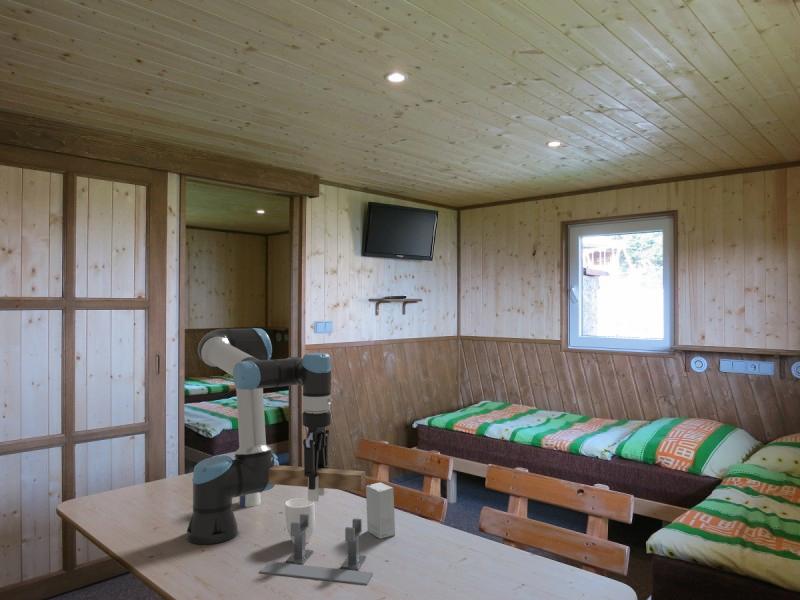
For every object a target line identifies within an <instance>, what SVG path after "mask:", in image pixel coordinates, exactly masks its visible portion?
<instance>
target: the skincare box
mask: <svg viewBox="0 0 800 600" xmlns="http://www.w3.org/2000/svg"><path fill="white" fill-rule="evenodd" d="M394 493H395V492H394V487H392V486H390V485H387V484H385V483H383V482H375V483H372V484H368V485H365V494H366V495H365V498H366V500H365V501H366V518H367V519H366V520H367V521H366V522H367V523H366V528H367V530H366V531H367V532H368V533H370V534H371V535H373V536H374V537H377V538H378V539H381V540H382V539H384V538H389V537H390V538H391V537H394V536H395V535H396V521H395V500H394V499H395V498H394Z"/></svg>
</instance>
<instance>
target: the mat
mask: <svg viewBox="0 0 800 600" xmlns="http://www.w3.org/2000/svg"><path fill="white" fill-rule="evenodd" d="M259 573H260V574H268V575H278V576H284V577H285V576H286V577H287V576H288V577H295V578H304V579H312V580H321V581H329V582H339V583H348V584H356V585H365V586H367V585H368V583H369V582H370V580H371V579H372V577H373V575H374V572H371V571H362V570H361V571H360V570H358V571H356V570H347V569H340V568H334V567H333V568H332V567H325V566H323V567H322V566H316V565H315V566H314V565H304V564H303V565H301V564H291V563H286V562H278V561H270V560H269V561H268V562H267V563H266V564H265V565H264V566H263V567H262V568H261V569H260V570H259Z"/></svg>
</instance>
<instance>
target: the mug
mask: <svg viewBox="0 0 800 600" xmlns="http://www.w3.org/2000/svg"><path fill="white" fill-rule="evenodd" d="M284 504H285V505H284V507H285V509H284V510H285V525H286V530H287V533H288V534H289V536H290V537H289V538H290V540H291V541H292V544H294V536H291V523H292V522H296V523H300V515H301V514H308V515H309V527H308V528H307V529H306V535H305V545H307V544H308V543H309V542H310V540H311V538H312V536H313V532H314V530H315V526H316V521H317V516H318V509H317V508H318V507H317V505H316V504H315V501H308V497H295V498H291V499H288V500H287V501H285V503H284Z"/></svg>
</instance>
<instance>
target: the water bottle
mask: <svg viewBox="0 0 800 600" xmlns="http://www.w3.org/2000/svg"><path fill="white" fill-rule="evenodd" d="M260 504H261V493H253V494H248V495H243V496H239V497H238V506H240V507H244V508H252V507H255V506H256V507H257V506H258V505H260Z"/></svg>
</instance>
